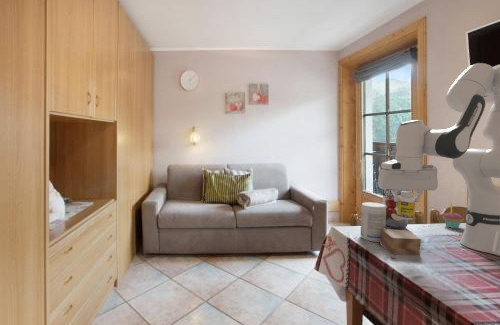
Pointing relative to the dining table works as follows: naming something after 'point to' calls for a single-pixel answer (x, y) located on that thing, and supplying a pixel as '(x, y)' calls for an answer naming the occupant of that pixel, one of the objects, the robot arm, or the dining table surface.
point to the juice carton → (393, 211)
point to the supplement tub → (372, 221)
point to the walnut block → (400, 242)
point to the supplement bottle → (406, 206)
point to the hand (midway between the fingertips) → (406, 201)
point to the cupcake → (453, 219)
